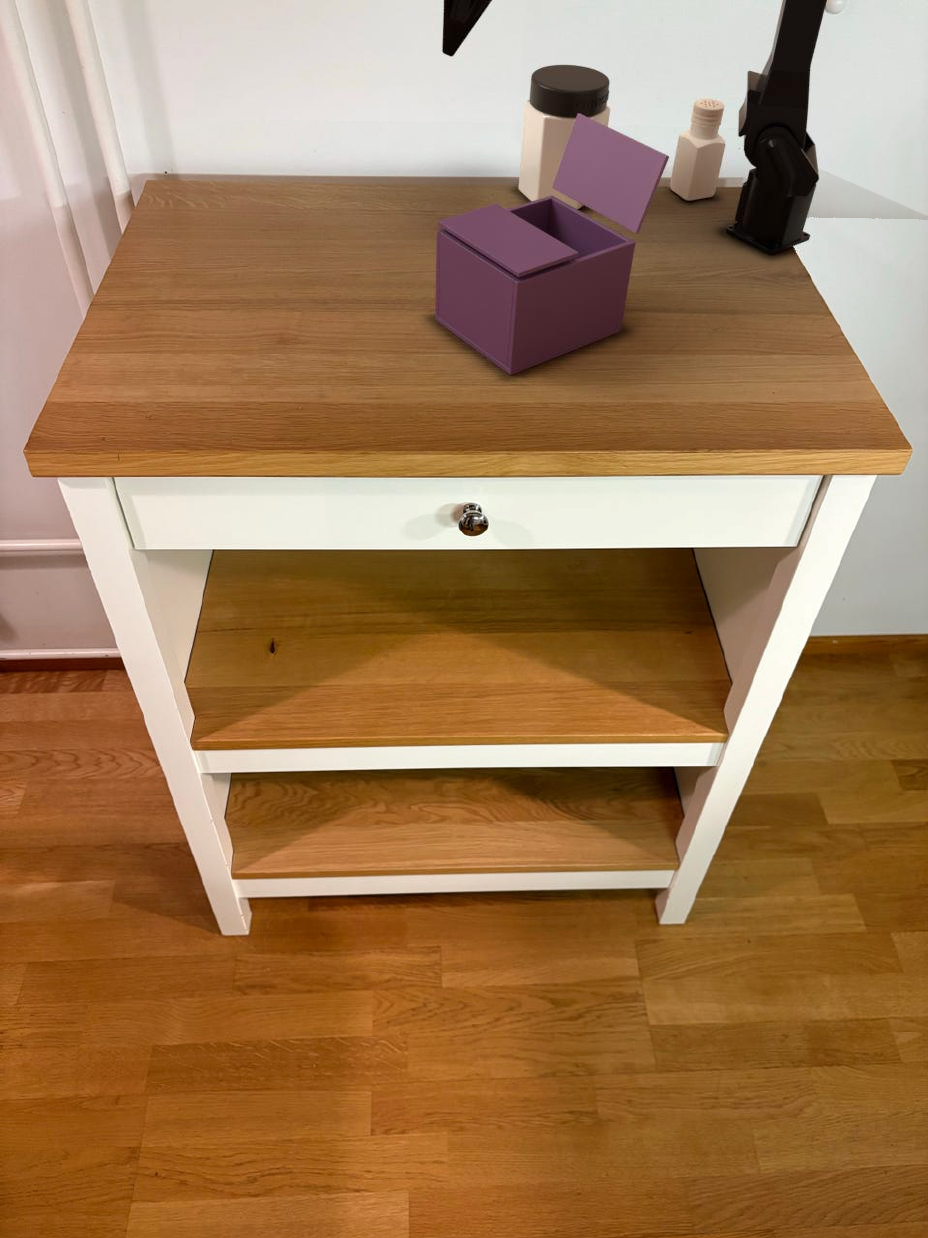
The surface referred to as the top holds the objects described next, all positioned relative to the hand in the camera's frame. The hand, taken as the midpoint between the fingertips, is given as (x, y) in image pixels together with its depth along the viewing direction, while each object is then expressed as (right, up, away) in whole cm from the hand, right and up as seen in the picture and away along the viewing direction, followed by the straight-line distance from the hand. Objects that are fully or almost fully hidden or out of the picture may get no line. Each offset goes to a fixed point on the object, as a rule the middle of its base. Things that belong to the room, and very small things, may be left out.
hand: (457, 39), depth 97 cm
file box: (+6, -30, -7) cm, 32 cm away
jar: (+11, -10, +13) cm, 20 cm away
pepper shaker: (+26, -9, +14) cm, 31 cm away
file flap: (+13, -19, -12) cm, 26 cm away
